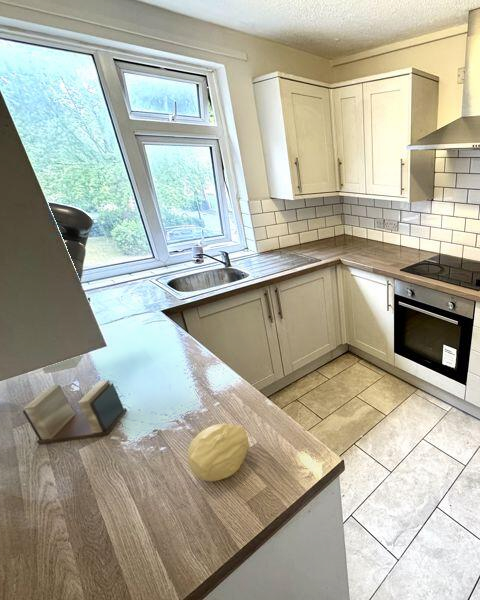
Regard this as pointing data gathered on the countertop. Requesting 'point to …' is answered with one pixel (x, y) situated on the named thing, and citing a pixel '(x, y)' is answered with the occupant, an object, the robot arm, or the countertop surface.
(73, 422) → the book rack
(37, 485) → the countertop surface
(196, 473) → the yellow lumpy ball
